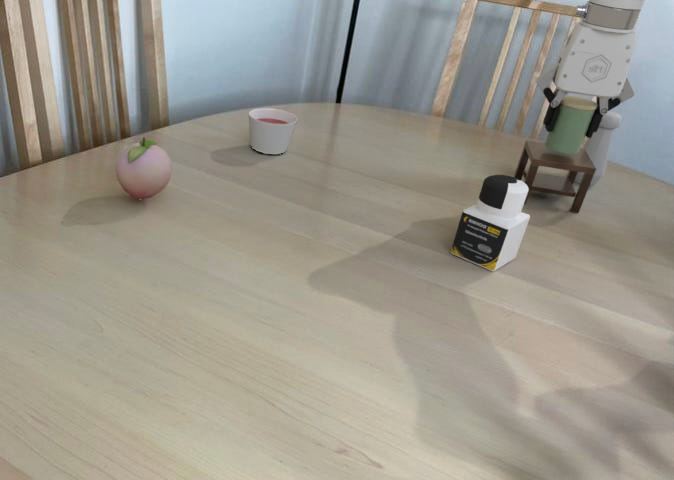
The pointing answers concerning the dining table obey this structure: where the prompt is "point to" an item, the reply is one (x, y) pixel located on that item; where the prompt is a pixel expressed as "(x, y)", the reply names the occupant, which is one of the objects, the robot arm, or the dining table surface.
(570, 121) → the tea tin
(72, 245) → the dining table surface
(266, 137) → the candle
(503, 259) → the medicine bottle
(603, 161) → the salt shaker
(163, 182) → the decorative fruit
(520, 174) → the stand
